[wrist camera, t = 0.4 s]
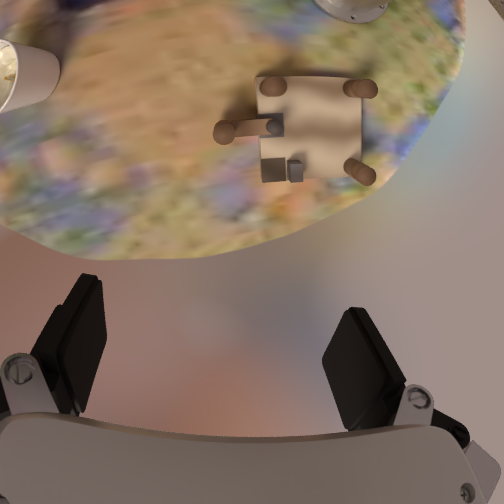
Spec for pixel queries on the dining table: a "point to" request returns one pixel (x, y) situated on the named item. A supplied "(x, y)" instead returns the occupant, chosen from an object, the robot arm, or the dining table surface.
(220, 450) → the robot arm
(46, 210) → the dining table surface
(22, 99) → the white paper cup
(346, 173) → the stool
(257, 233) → the dining table surface
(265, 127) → the hinged leg
